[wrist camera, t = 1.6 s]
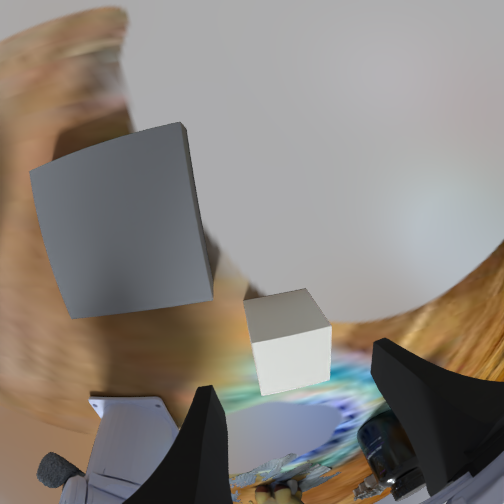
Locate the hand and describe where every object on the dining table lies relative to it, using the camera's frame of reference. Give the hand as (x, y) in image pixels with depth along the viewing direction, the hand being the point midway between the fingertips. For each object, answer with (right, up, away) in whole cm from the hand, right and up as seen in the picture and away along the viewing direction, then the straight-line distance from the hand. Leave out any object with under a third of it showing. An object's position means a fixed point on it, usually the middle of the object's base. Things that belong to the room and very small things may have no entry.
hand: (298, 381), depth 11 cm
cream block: (0, 0, +9) cm, 9 cm away
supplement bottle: (+15, -17, +17) cm, 28 cm away
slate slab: (-10, +7, +6) cm, 14 cm away
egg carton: (+23, -42, +27) cm, 55 cm away
